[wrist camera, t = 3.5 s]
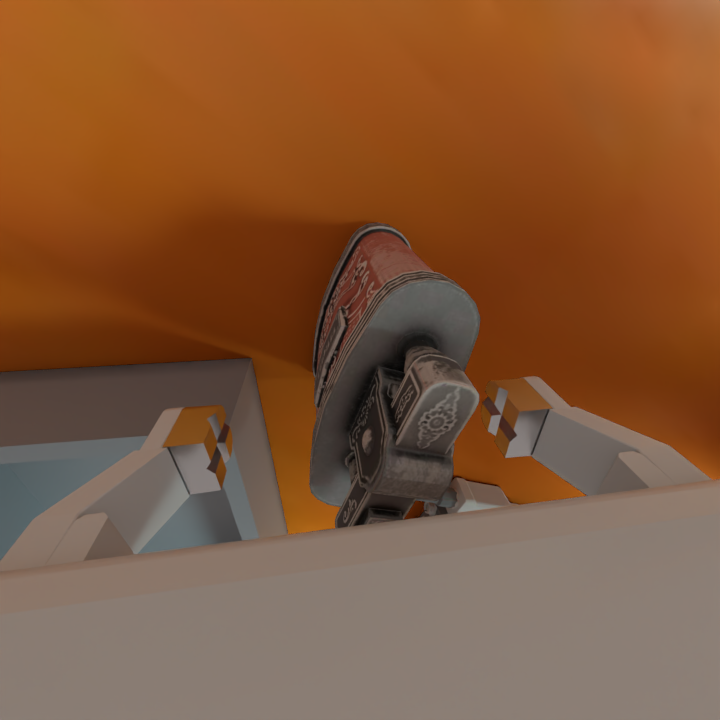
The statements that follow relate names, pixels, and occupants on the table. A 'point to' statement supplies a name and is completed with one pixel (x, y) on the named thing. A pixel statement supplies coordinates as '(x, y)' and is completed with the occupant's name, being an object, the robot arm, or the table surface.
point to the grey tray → (133, 444)
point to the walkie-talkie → (466, 498)
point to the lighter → (388, 380)
